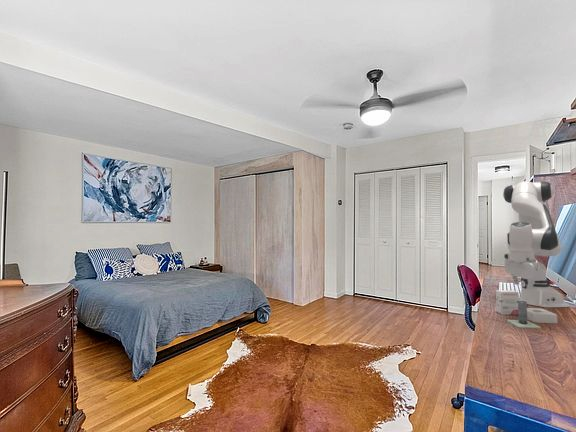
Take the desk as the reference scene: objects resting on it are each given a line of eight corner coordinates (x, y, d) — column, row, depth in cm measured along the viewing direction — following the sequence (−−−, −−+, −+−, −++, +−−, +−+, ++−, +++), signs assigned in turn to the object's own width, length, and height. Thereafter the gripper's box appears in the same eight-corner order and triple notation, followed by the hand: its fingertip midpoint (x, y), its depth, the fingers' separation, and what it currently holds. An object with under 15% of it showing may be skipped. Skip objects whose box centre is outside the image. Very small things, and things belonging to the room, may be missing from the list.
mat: (527, 321, 138) (527, 320, 138) (540, 328, 130) (540, 327, 130) (506, 321, 140) (506, 319, 140) (518, 327, 131) (518, 326, 131)
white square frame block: (541, 316, 146) (541, 308, 146) (557, 323, 136) (557, 314, 136) (520, 315, 147) (519, 307, 148) (533, 322, 138) (533, 313, 138)
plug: (524, 322, 136) (523, 300, 136) (529, 324, 133) (528, 302, 133) (516, 321, 137) (516, 300, 137) (521, 324, 133) (520, 302, 134)
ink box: (513, 312, 153) (512, 289, 153) (519, 315, 148) (519, 292, 149) (495, 311, 154) (495, 289, 154) (501, 314, 149) (501, 291, 149)
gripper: (545, 260, 125) (546, 292, 124) (515, 254, 145) (516, 282, 145) (529, 260, 125) (530, 292, 125) (501, 254, 146) (502, 281, 146)
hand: (522, 286), depth 135 cm, fingers open, 8 cm apart
